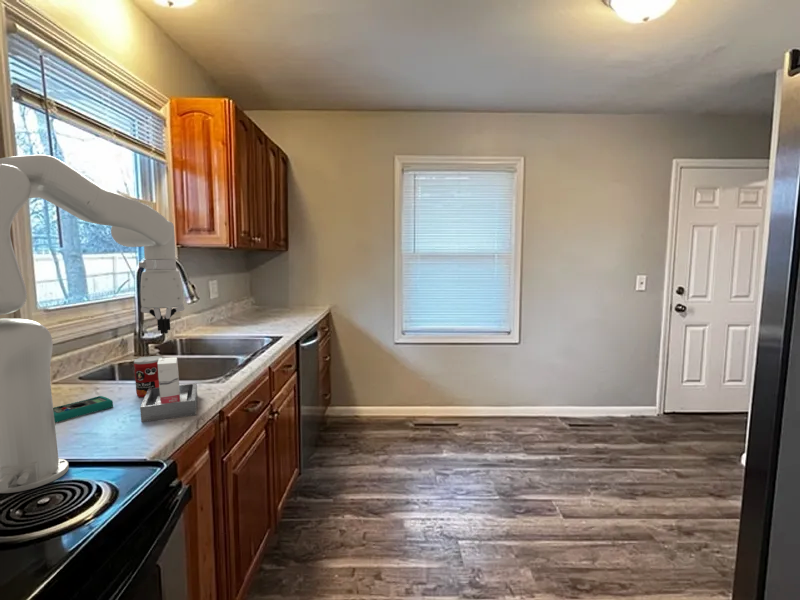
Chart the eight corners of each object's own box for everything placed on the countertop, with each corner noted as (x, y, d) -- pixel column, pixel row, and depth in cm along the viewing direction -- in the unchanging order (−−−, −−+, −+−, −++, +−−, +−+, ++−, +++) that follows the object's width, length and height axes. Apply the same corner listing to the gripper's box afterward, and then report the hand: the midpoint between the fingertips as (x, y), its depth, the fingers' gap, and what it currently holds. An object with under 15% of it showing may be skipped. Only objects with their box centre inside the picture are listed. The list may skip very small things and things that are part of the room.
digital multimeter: (43, 419, 127) (41, 408, 127) (103, 403, 139) (102, 394, 139) (53, 425, 123) (52, 414, 123) (114, 408, 135) (113, 398, 135)
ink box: (180, 404, 130) (177, 362, 128) (160, 407, 128) (156, 364, 126) (180, 395, 138) (177, 356, 136) (161, 398, 136) (158, 357, 134)
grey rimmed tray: (195, 414, 127) (194, 400, 127) (141, 422, 122) (140, 407, 122) (197, 395, 144) (196, 383, 143) (149, 401, 139) (148, 388, 138)
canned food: (130, 396, 144) (127, 361, 143) (150, 389, 152) (147, 355, 151) (151, 398, 142) (149, 362, 141) (170, 390, 150) (168, 356, 149)
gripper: (127, 266, 122) (131, 337, 124) (190, 265, 128) (193, 333, 129) (131, 266, 129) (135, 333, 131) (191, 265, 135) (194, 329, 136)
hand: (164, 332), depth 130 cm, fingers closed
